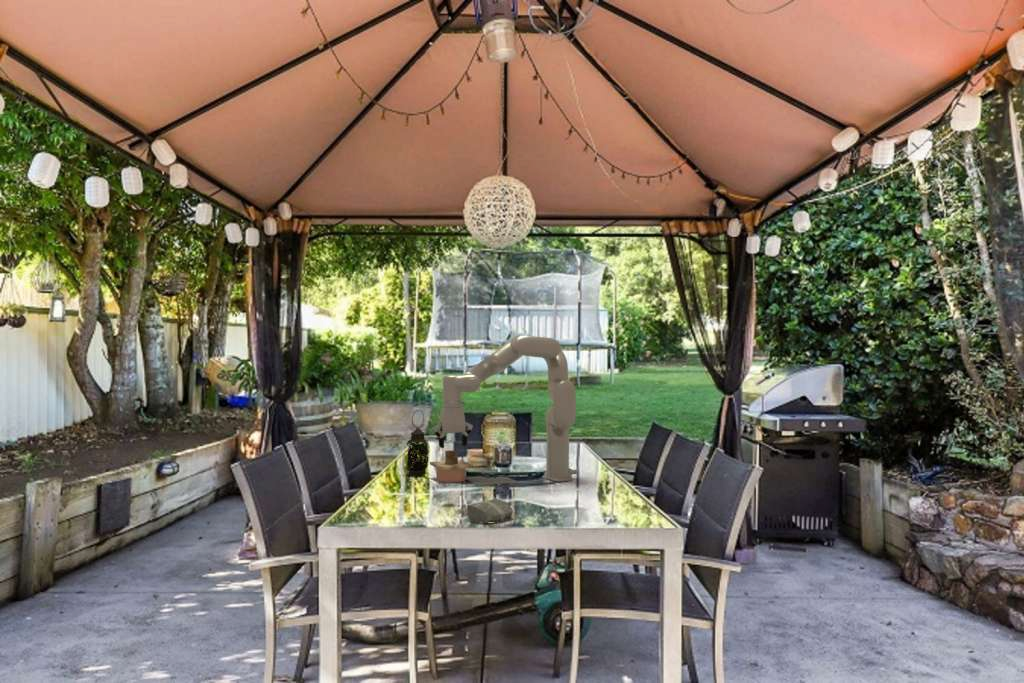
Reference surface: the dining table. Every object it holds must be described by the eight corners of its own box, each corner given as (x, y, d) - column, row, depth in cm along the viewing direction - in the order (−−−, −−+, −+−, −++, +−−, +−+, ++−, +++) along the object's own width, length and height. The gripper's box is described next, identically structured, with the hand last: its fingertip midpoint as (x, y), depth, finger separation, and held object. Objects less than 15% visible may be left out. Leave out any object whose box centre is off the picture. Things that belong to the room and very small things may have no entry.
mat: (501, 477, 308) (501, 474, 308) (519, 484, 292) (519, 482, 292) (462, 479, 301) (462, 477, 301) (478, 487, 285) (478, 485, 285)
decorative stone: (492, 514, 240) (492, 496, 240) (516, 519, 234) (517, 500, 234) (466, 521, 230) (466, 502, 230) (491, 526, 224) (491, 507, 224)
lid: (461, 462, 305) (461, 448, 305) (473, 467, 292) (473, 452, 292) (429, 464, 299) (430, 449, 299) (440, 469, 287) (440, 454, 287)
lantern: (417, 472, 317) (418, 408, 317) (432, 475, 312) (433, 410, 312) (401, 475, 309) (402, 410, 309) (417, 478, 304) (418, 411, 304)
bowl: (458, 478, 303) (459, 463, 303) (468, 483, 293) (468, 467, 293) (433, 480, 298) (434, 464, 298) (442, 485, 288) (442, 468, 288)
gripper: (468, 403, 303) (469, 444, 303) (429, 405, 296) (430, 447, 296) (475, 404, 296) (476, 446, 296) (435, 406, 289) (435, 449, 289)
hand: (453, 446), depth 296 cm, fingers open, 9 cm apart
